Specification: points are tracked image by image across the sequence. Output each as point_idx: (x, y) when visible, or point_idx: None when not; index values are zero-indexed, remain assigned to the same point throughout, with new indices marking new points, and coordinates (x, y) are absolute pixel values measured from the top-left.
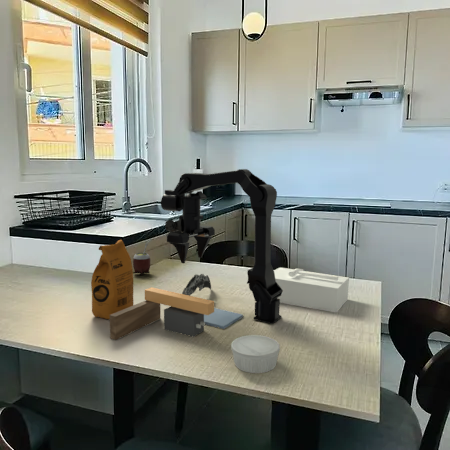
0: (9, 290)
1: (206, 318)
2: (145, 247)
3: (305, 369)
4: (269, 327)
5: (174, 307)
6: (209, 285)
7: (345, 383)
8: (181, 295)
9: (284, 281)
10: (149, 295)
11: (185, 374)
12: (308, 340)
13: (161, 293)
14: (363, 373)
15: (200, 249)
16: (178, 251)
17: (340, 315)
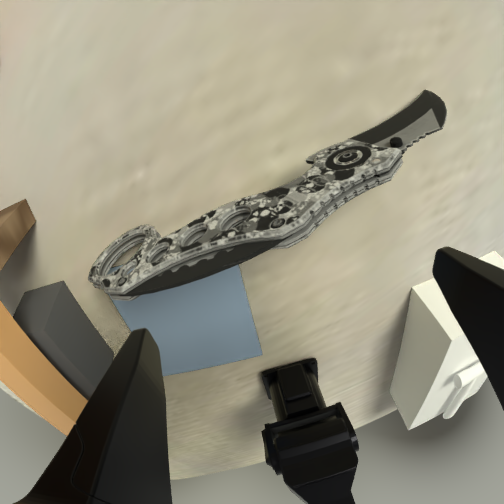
0: None
1: (154, 328)
2: None
3: (178, 455)
4: (256, 395)
5: (35, 345)
6: (424, 103)
7: (190, 469)
8: (43, 404)
9: (433, 375)
10: None
11: (30, 408)
12: (255, 432)
13: None
14: (223, 467)
15: (486, 321)
16: (74, 455)
17: (386, 395)
